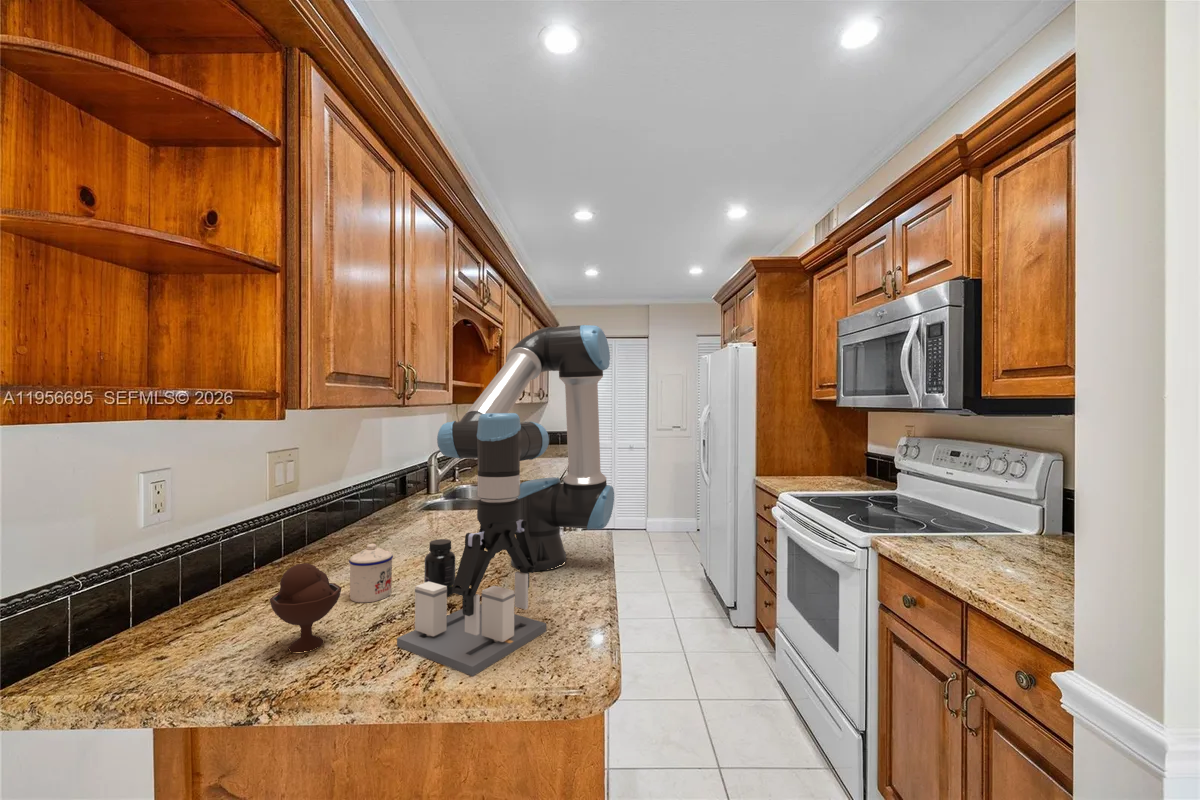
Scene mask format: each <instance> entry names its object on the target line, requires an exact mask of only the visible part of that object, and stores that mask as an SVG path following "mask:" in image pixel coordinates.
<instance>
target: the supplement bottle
mask: <svg viewBox="0 0 1200 800" xmlns="http://www.w3.org/2000/svg"><path fill="white" fill-rule="evenodd" d="M428 548H429V549H428V551H429V552H428V553H426V556H425V558H424V575H423V577H424V581H423V583H426V582H428V581H429V582H433V583H436V584H440V585H444V586H447V598H448V597H450V596H452V595H453V594H454V593H453V592H452V589H453V585H454V582H455V579H456V554H455V553H454V551H452V540H450V539H447V538H439V539H434V540H431V541H430V542H429V547H428Z"/></svg>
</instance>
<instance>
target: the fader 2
mask: <svg viewBox="0 0 1200 800" xmlns="http://www.w3.org/2000/svg"><path fill="white" fill-rule="evenodd" d="M480 595H481V596H480V597H481V605H482V636H485V637H488V638H491V639H494V642H497V641H500V642H504V641H506V640H507V639H509V638H511V637H513V636H514V614H515V589H510V588H505V587H500V586H498V585H492V586H489V587H487V588H485V589H482V590H481V594H480Z"/></svg>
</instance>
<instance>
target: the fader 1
mask: <svg viewBox="0 0 1200 800" xmlns="http://www.w3.org/2000/svg"><path fill="white" fill-rule="evenodd" d="M447 599H448V597H447V586H444V585H440V584H436V583H433V582H429V581H428V582H426V583H424V582H422V583H421V584H418V585H415V586H414V630H416V631H419V632H422V633H425V634H427V636H436V635H438V634H440V633H442V632H444V631H446V630H447V613H448V611H447V610H448V604H447V603H448V602H447Z"/></svg>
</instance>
